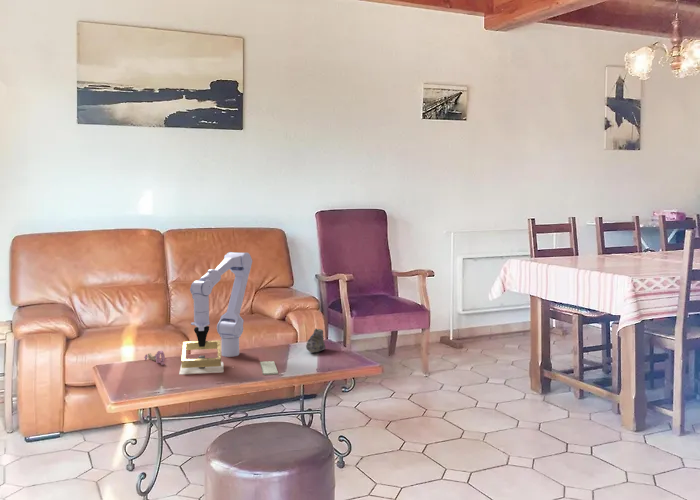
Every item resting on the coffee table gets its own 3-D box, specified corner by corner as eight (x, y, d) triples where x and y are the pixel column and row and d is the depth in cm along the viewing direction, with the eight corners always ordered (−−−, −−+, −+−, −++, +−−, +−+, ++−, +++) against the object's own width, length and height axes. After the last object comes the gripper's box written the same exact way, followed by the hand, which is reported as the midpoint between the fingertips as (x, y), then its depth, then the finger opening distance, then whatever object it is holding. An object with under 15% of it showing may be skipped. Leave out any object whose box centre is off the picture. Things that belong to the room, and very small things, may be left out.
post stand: (181, 367, 254) (181, 352, 254) (223, 365, 257) (223, 350, 257) (179, 378, 239) (178, 362, 238) (223, 376, 242) (223, 360, 241)
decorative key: (146, 366, 268) (165, 368, 253) (143, 366, 267) (162, 368, 252) (144, 349, 269) (164, 350, 253) (141, 350, 268) (161, 351, 252)
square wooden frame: (183, 348, 254) (183, 341, 253) (220, 347, 256) (220, 340, 255) (181, 368, 241) (181, 361, 240) (221, 366, 243) (220, 359, 242)
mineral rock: (309, 356, 274) (309, 332, 273) (294, 351, 282) (294, 328, 281) (333, 351, 282) (333, 328, 281) (318, 347, 290) (318, 325, 289)
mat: (228, 364, 259) (228, 363, 259) (273, 362, 262) (273, 361, 262) (229, 376, 241) (229, 375, 241) (277, 374, 245) (277, 372, 245)
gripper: (191, 308, 259) (192, 342, 260) (190, 314, 245) (190, 350, 246) (209, 308, 260) (210, 341, 262) (209, 314, 246) (209, 349, 247)
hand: (202, 345), depth 254 cm, fingers closed on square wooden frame, 2 cm apart
